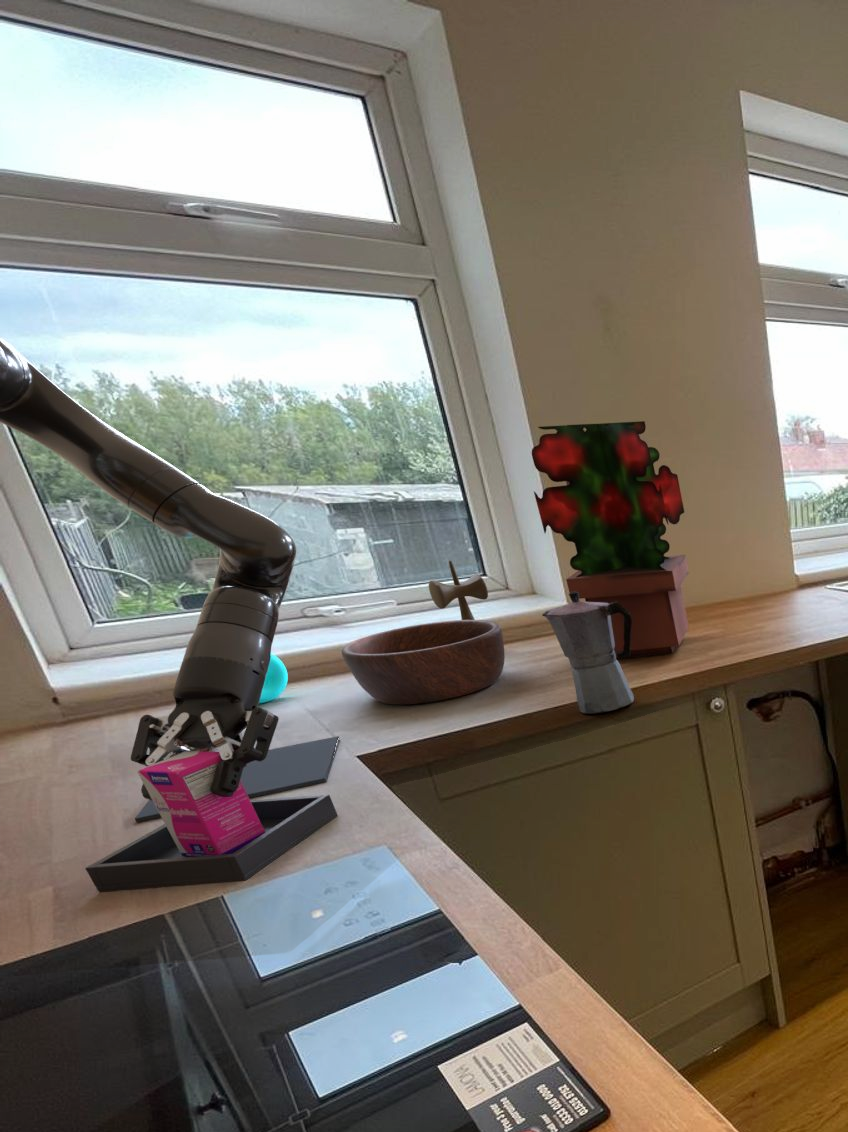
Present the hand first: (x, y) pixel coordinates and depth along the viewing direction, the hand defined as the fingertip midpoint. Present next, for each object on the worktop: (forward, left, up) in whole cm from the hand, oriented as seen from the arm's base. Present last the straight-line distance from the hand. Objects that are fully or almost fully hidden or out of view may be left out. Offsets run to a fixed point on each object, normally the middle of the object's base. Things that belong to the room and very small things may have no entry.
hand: (187, 797), depth 93 cm
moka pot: (+48, +27, -8) cm, 56 cm away
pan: (+1, +1, -8) cm, 8 cm away
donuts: (-7, +76, -8) cm, 77 cm away
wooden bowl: (+23, +60, -8) cm, 65 cm away
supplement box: (+1, +1, -8) cm, 8 cm away
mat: (-1, +29, -8) cm, 30 cm away
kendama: (+30, +85, -8) cm, 91 cm away
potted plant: (+61, +62, -8) cm, 87 cm away
